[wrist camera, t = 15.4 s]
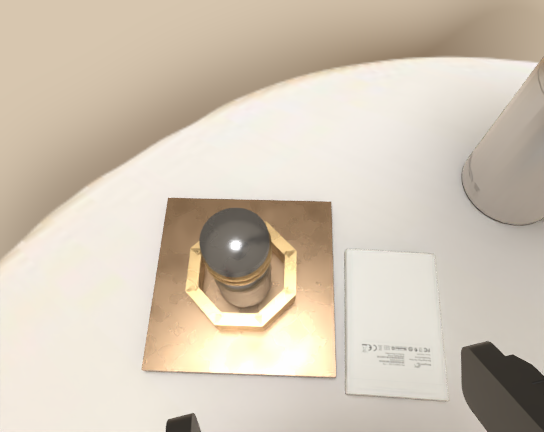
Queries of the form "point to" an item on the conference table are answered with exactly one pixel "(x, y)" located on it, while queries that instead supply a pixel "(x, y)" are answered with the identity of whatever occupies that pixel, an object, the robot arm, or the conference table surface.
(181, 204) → the octagon frame base plate
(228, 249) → the cylinder
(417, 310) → the external hard drive
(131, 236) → the conference table surface
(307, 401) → the conference table surface
